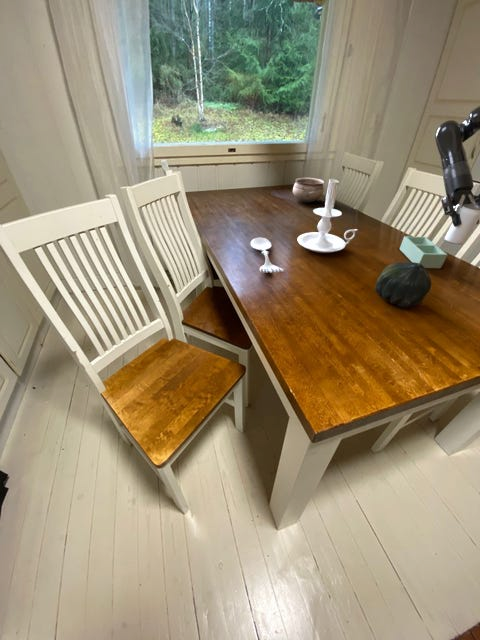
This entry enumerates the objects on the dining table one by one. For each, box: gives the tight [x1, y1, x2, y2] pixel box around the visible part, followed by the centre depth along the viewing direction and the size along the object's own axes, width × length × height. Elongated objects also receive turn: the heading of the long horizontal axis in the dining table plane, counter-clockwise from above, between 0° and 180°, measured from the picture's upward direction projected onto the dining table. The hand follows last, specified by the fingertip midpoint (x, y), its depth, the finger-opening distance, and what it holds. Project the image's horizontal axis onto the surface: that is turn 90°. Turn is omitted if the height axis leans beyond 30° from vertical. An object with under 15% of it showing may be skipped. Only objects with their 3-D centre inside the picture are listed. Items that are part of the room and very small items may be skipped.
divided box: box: [399, 235, 448, 269], centre depth 112 cm, size 9×17×6 cm, turn 177°
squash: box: [375, 261, 432, 309], centre depth 86 cm, size 14×15×15 cm
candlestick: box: [296, 178, 358, 254], centre depth 112 cm, size 21×25×28 cm
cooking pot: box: [292, 177, 325, 204], centre depth 172 cm, size 25×19×12 cm
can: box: [444, 204, 480, 245], centre depth 95 cm, size 6×6×12 cm
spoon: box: [250, 237, 284, 274], centre depth 111 cm, size 9×32×4 cm, turn 5°
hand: (466, 225), depth 93 cm, fingers closed on can, 6 cm apart
